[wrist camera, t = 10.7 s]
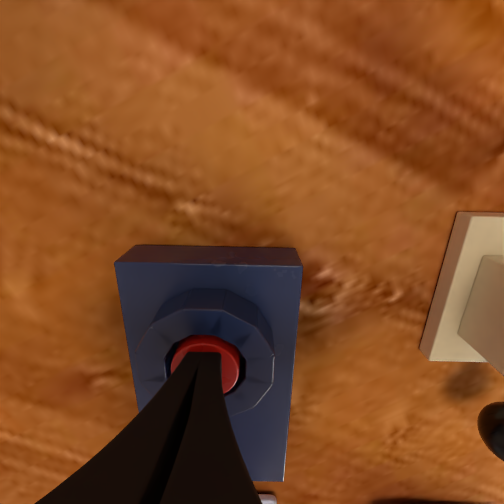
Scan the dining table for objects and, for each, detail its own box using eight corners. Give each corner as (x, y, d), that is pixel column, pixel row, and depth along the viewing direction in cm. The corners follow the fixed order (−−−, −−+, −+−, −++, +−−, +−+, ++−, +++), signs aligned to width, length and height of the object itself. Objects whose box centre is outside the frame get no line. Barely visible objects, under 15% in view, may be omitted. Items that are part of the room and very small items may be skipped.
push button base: (280, 443, 19) (286, 517, 15) (161, 441, 19) (138, 514, 15) (295, 247, 14) (311, 284, 10) (135, 244, 14) (90, 279, 10)
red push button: (240, 368, 13) (239, 399, 12) (183, 367, 13) (172, 397, 12) (241, 319, 12) (239, 345, 11) (178, 317, 12) (167, 343, 11)
